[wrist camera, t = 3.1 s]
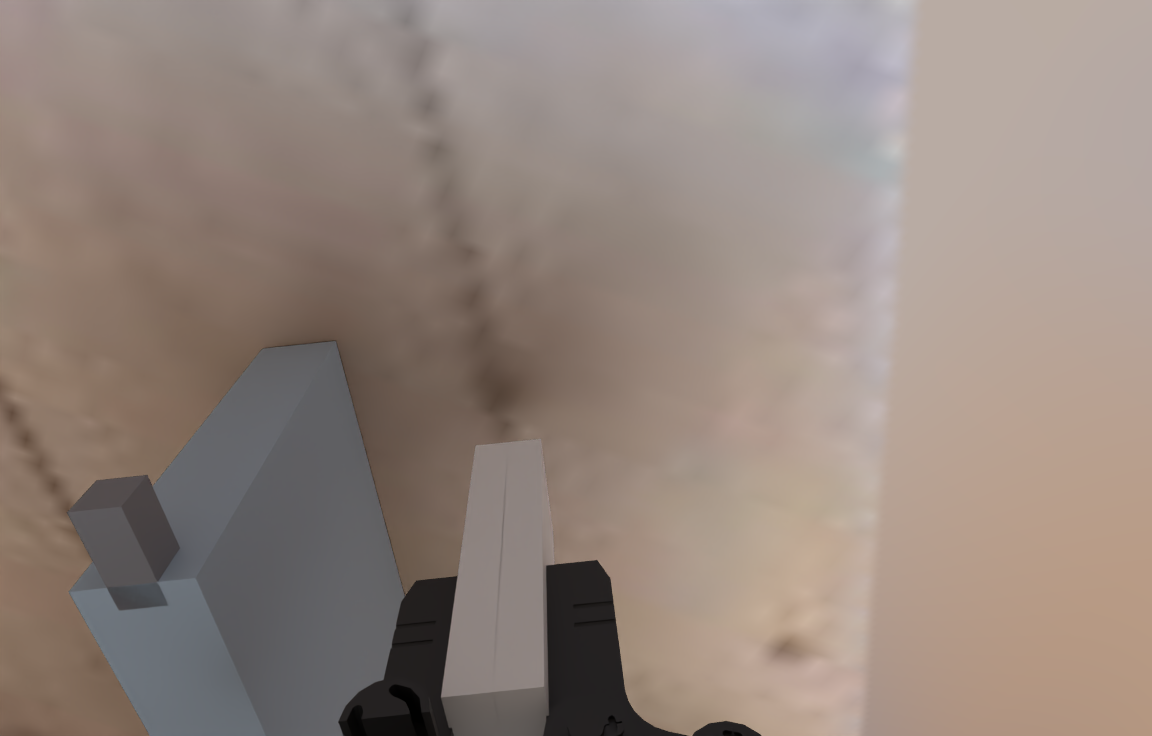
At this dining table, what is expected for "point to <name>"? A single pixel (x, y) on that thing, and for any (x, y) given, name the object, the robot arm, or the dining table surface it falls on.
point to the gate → (247, 563)
